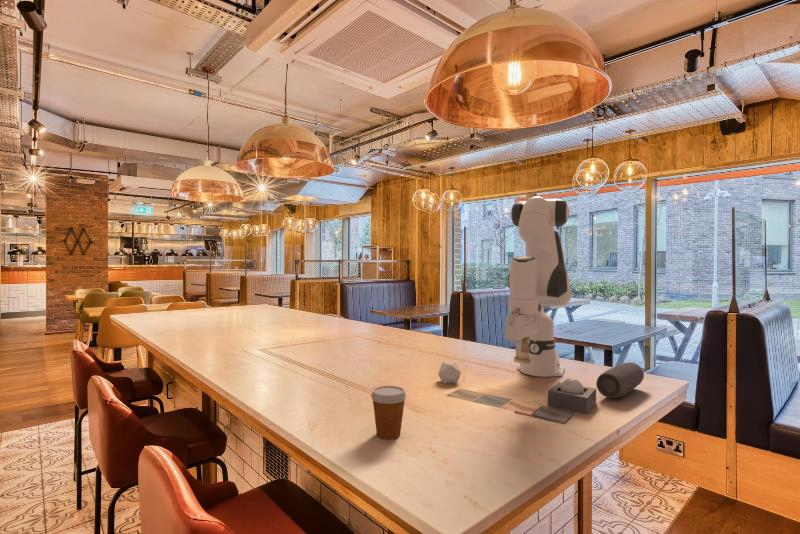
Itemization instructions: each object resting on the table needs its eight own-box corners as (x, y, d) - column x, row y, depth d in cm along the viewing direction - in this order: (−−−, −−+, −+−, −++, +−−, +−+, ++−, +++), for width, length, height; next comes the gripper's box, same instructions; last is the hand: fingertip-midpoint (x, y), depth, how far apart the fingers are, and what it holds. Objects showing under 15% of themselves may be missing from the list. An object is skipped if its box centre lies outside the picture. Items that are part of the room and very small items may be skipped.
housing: (558, 396, 151) (558, 382, 151) (596, 403, 144) (596, 388, 144) (547, 406, 142) (547, 390, 142) (587, 414, 135) (587, 398, 134)
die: (454, 389, 160) (467, 367, 163) (434, 377, 162) (447, 354, 165) (451, 391, 168) (463, 369, 171) (432, 379, 170) (444, 357, 172)
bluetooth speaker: (618, 385, 166) (618, 358, 166) (645, 390, 159) (645, 363, 159) (593, 398, 150) (594, 369, 150) (622, 405, 144) (623, 374, 143)
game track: (459, 389, 158) (459, 388, 158) (574, 413, 135) (574, 412, 135) (445, 396, 150) (445, 395, 150) (565, 423, 127) (565, 421, 127)
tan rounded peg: (517, 358, 143) (517, 334, 143) (533, 361, 140) (533, 336, 140) (511, 361, 139) (511, 336, 138) (527, 364, 135) (527, 338, 135)
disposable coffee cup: (370, 428, 122) (370, 385, 122) (404, 427, 123) (404, 384, 123) (371, 442, 113) (371, 396, 113) (407, 441, 114) (408, 395, 113)
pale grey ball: (563, 394, 148) (564, 374, 148) (586, 398, 144) (586, 378, 143) (557, 400, 142) (557, 379, 142) (580, 404, 138) (581, 383, 138)
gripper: (520, 311, 128) (519, 358, 129) (543, 305, 145) (542, 347, 145) (500, 309, 132) (499, 355, 133) (524, 304, 149) (524, 344, 149)
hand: (522, 351), depth 139 cm, fingers closed on tan rounded peg, 4 cm apart
